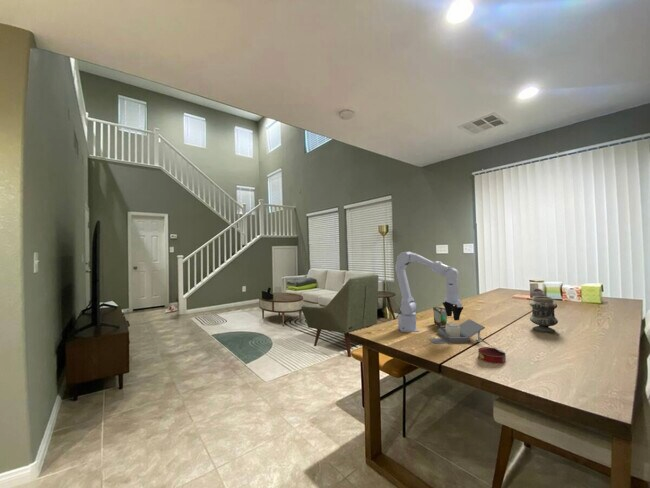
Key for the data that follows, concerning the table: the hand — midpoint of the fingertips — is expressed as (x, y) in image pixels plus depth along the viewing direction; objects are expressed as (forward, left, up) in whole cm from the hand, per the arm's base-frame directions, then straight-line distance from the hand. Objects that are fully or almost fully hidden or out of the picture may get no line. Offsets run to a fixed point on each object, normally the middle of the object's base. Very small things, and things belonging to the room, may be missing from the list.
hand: (452, 318), depth 142 cm
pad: (-10, -5, -10) cm, 15 cm away
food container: (+3, +19, -10) cm, 22 cm away
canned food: (+4, -26, -10) cm, 28 cm away
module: (-1, -1, -10) cm, 10 cm away
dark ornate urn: (+53, +7, -10) cm, 54 cm away
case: (+3, -1, -10) cm, 10 cm away
